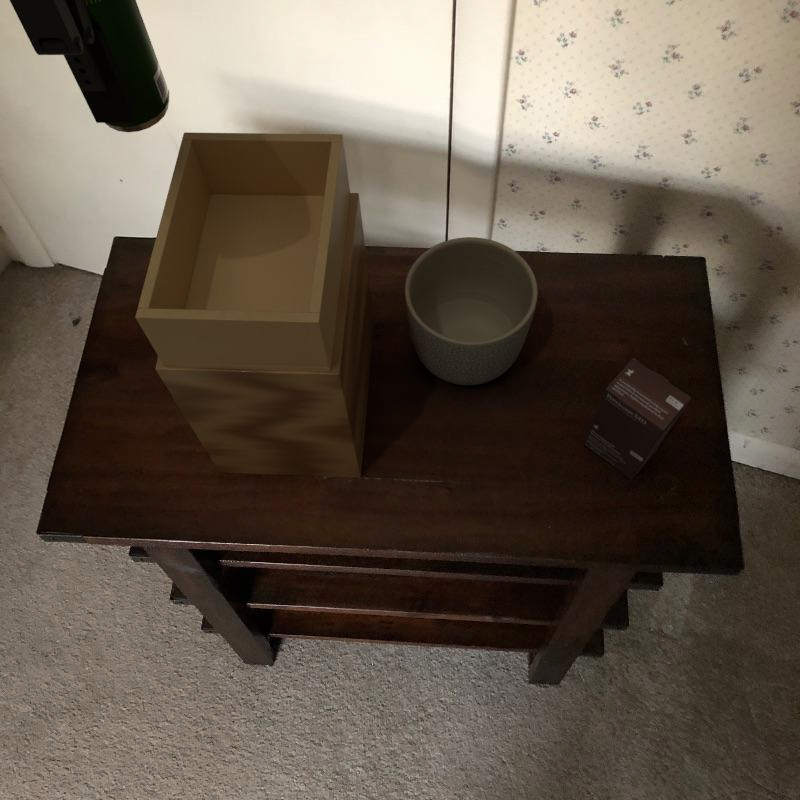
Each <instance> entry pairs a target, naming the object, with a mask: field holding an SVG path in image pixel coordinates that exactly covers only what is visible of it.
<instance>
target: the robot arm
mask: <svg viewBox="0 0 800 800" xmlns="http://www.w3.org/2000/svg"><path fill="white" fill-rule="evenodd" d="M9 3H10V4H11V6H12V8H13V10H14V12H15V14H16V16H17V17H18V20H19V22H20V24H21V26H22V28H23V30H24V32H25V34H26V36H27V39H28V40H29V42H30V44H31V46H32V48H33V50H34V52H35V53H36V54H37V55H38V56H63V57H64V59H65V61H66V63H67V65H68V67H69V70H70V71H71V73H72V75H73V78H74V80H75V81H76V84H77V86H78V88H79V90H80V92H81V94H82V96H83V98H84V100H85V102H86V104H87V106H88V108H89V110H90V112H91V114H92V116H93V119H94V121H95V122H96V123H97V124H105V123H136V119H137V116H138V114H137V112H136V109H135V107H134V105H133V102H132V100H131V98H130V95H129V93H128V91H127V88H126V86H125V83H124V81H123V79H122V76H121V74H120V72H119V69H118V67H117V65H116V62H115V60H114V57H113V55H112V53H111V50H110V48H109V46H108V43H107V41H106V39H105V36H104V34H103V31H102V29H93V27H92V24H91V21H90V17H89V14H88V11H87V7H86V4H85V1H84V0H9Z"/></svg>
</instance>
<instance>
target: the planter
mask: <svg viewBox="0 0 800 800" xmlns="http://www.w3.org/2000/svg"><path fill="white" fill-rule="evenodd" d="M538 290H539V289H538V283H537V279H536V275H535V273H534V271H533V270H532V268H531V266H530V264H529V263H528V262H527V261H526V260H525V258H524V257H522V256H521V254H519V253H518V252H517V251H515V250H514V249H512V248H511V247H509V246H508V245H506V244H504V243H501V242H499V241H496V240H492V239H489V238H485V237H478V236H477V237H473V236H464V237H456V238H451V239H447V240H445V241H442V242H439V243H437V244H435V245H433V246H432V247H430V248H428V249H427V250H425V251H424V252H423V253H422V254H420V255H419V256H418V258H416V260H415V261H414V262H413V264H412V265H411V267H410V269H409V271H408V273H407V275H406V279H405V284H404V301H405V310H406V319H407V323H408V329H409V333H410V337H411V338H410V339H411V342H412V345H413V348H414V352H415V354H416V355H417V357H418V359H419V361H420V362H421V364H422V365H423V366H424V367H425V368H426V369H427V370H428V371H429V373H431V374H433V375H434V376H436V377H437V378H438V379H440V380H441V381H444V382H447V383H449V384H454V385H460V386H477V385H482V384H486V383H489V382H491V381H494V380H495V379H497V378H499V377H501V376H503V374H504V373H506V372H507V371H508V370H509V369H510V368H511V367H512V366H513V365H514V363H515V362H516V360H517V358H518V357H519V355H520V353H521V351H522V349H523V346H524V344H525V342H526V339H527V337H528V333H529V331H530V329H531V325H532V321H533V319H534V315H535V311H536V308H537V303H538V295H539V293H538Z"/></svg>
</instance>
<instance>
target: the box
mask: <svg viewBox="0 0 800 800" xmlns="http://www.w3.org/2000/svg"><path fill="white" fill-rule="evenodd" d="M604 390H605V391H604V392H603V395H602V397H601V399H600V402H599V404H598V407H597V409H596V411H595V414H594V415H593V418H592V420H591V422H590V425H589V428H588V430H587V432H586V435H585V437H584V439H583V442H582V445H583V446H585V447H586V448H588V449H589V450H591V451H592V452H593V453H595V454H596V455H597V456H598V457H600V458H602V460H604V461H605V462H607V463H608V464H610V465H611V466H612V467H614V469H616V470H617V471H618V472H620V473H621V474H622V475H624V476H625V477H626V478H627V479H629V480H631V481H632V480H634V478H635V477H636V476H637V474H638V473H639V472H640V471H641V470H642V469H643V468H644V466H645V465H646V464H647V463H648V462H649V460H650V459H651V458H652V457H653V455H654V454H656V452H657V451H658V449H659V448H660V446H661V445H662V443H663V442H664V440H665V439H666V437H667V435H668V434H669V432H670V431H671V430H672V428H673V427H674V425H675V423H676V422H677V420H678V419H679V417H680V416H681V415H682V413H683V412H684V410H686V407H687V406H688V404H689V403H690V402H691V400H692V399H691V396H690V395H688V394H686V393H685V392H684V391H682V390H681V389H679V388H677V387H676V386H674V385H673V384H672V383H671V382H670V381H669V380H668V379H667V378H665V377H664V376H663V375H662V374H659V373H657V372H656V371H652V370H651V369H649V368H648V367H646V365H644V364H642V362H639V361H638V360H637V359H636V358H634V357H633V358H631V359H630V360H629V362H628V363H627V364H626V365H625V366H624V367H623V369H622V370H621V371H620V372H619V373H618V374H617V375H616V377H615V378H614V379H613V380H612V381H611V382H610V383H609V385H608V386H607V387H606V388H605V389H604Z"/></svg>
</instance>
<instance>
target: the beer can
mask: <svg viewBox="0 0 800 800" xmlns="http://www.w3.org/2000/svg"><path fill="white" fill-rule="evenodd" d="M84 1H85V4H86V7H87V11H88V14H89V17H90V21H91V24H92V27H93V29H102V31H103V34H104V36H105V39H106V41H107V43H108V46H109V48H110V50H111V53H112V55H113V57H114V60H115V62H116V65H117V67H118V69H119V72H120V74H121V76H122V79H123V81H124V83H125V86H126V88H127V91H128V93H129V95H130V98H131V100H132V102H133V105H134V107H135V109H136V112H137V114H138V116H137V119H136V123H104V124H105V125H106V126H108V127H109V128H110V129H113V130H115V131H117V132H122V133H136V132H142V131H144V130H147V129H150V128H151V127H153V126H155V125H156V124H158V123H159V122H160V121H161V120H162V119H163V118H164V117H165V115H166V113H167V112H168V110H169V103H170V90H169V86H168V84H167V82H166V79H165V77H164V74H163V70H162V68H161V66H160V63H159V60H158V57H157V54H156V52H155V49H154V46H153V44H152V41H151V39H150V36H149V35H150V34H149V33H148V30H147V27H146V24H145V22H144V19H143V17H142V13H141V11H140V8H139V5H138V2H137V0H84Z"/></svg>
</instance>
